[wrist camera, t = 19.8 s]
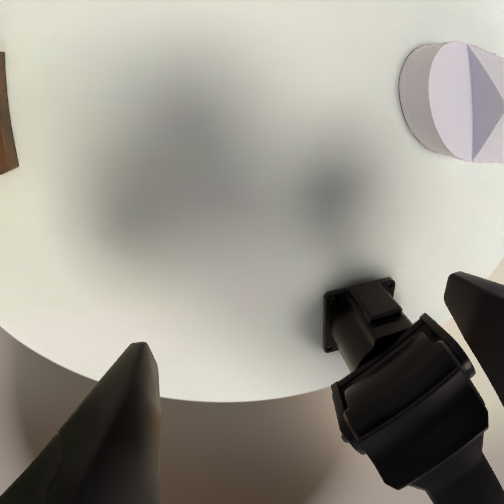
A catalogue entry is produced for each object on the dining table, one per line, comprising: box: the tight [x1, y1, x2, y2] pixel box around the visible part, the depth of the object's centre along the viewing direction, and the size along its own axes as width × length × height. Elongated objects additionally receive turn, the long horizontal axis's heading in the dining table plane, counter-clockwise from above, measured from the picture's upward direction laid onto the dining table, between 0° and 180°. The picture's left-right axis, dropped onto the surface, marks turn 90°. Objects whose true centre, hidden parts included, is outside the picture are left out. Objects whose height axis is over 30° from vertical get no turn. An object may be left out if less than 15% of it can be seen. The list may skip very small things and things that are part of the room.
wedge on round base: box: [399, 41, 504, 163], centre depth 15 cm, size 9×7×13 cm
